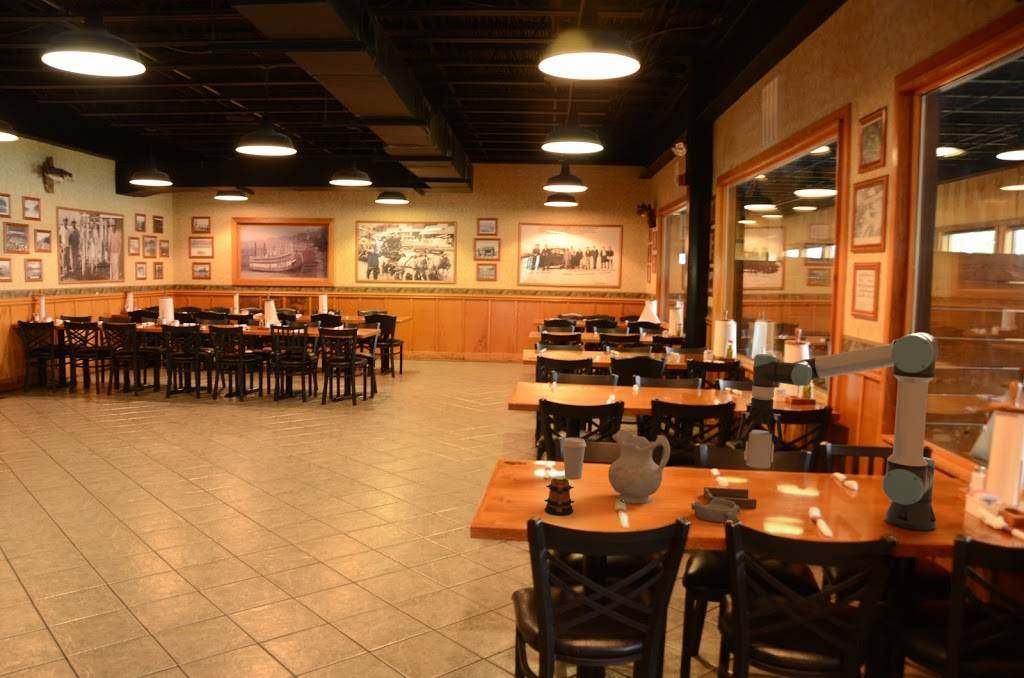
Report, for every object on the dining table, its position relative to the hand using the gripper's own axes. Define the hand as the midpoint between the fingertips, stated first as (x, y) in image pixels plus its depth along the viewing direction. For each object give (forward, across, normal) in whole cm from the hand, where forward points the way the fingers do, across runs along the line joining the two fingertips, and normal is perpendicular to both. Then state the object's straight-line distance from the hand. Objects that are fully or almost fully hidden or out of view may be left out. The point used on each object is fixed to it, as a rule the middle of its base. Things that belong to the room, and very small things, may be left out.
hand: (758, 460), depth 279 cm
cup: (+2, 0, 0) cm, 2 cm away
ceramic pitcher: (+16, +42, +7) cm, 45 cm away
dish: (+16, +16, +21) cm, 31 cm away
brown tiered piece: (+16, +68, +29) cm, 76 cm away
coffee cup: (+16, +67, -17) cm, 71 cm away
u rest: (+16, +9, +1) cm, 18 cm away
